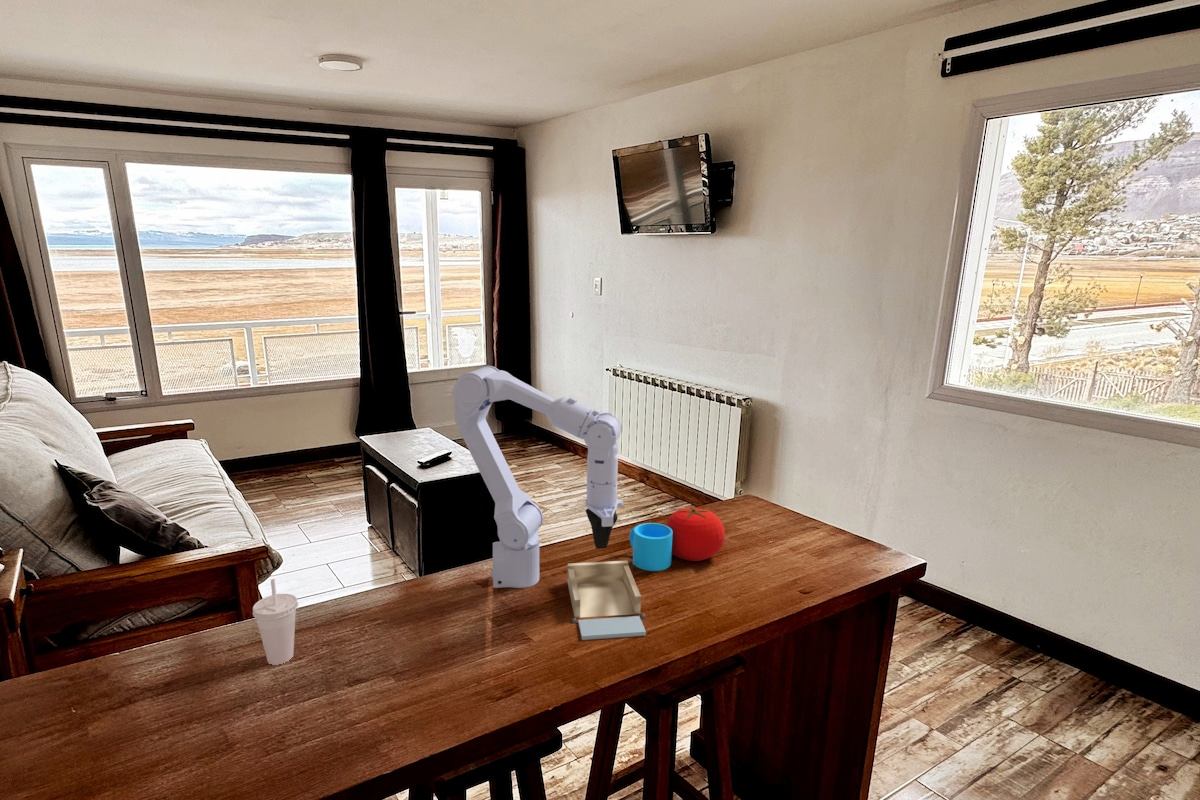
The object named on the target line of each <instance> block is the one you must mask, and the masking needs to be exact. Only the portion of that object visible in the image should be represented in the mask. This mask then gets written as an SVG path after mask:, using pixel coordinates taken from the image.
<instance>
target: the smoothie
mask: <svg viewBox="0 0 1200 800" xmlns="http://www.w3.org/2000/svg"><path fill="white" fill-rule="evenodd" d="M270 585H271V587H270V588H271V595H268V596H266V597H264V598H261V599H260V600H258V601H257V602H255V603H254V605H253V606H252V616H253V617H254V618H255V619H256V623H257V626H258V630H259V634H260V637H261V641H262V645H263V649H264V654H265V658H266V661H267V663H268V664H269V665H270V664H272V665H271V666H280V665H279V664H281V665H284V664H286V663H285V662H287V661H288V662H290V661H291V660H292V659H293V658H294V651H295V649H294V648H295V647H294V646H295V632H296V631H295V630H296V611H297V608H298V605H299V603H298V597H296V596H295V595H294V594H291V593H277V589H276V588H277V587H276V579H275V578H273V579H270ZM292 657H293V658H292ZM291 658H292V659H291ZM290 659H291V660H290ZM289 660H290V661H289ZM288 662H287V663H288ZM283 663H284V664H283Z"/></svg>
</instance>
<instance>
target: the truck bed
mask: <svg viewBox="0 0 1200 800" xmlns="http://www.w3.org/2000/svg"><path fill="white" fill-rule="evenodd" d="M566 574H567V577H566V578H567V581H566V582H567V587H568V591H569V596H570V602H571V607H572V608H571V609H572V612H573V618H571V623H572V624H577V623H578V621H577V619H584V618H585V619H586V618H598V617H600V618H601V617H612V616H614V617H615V616H630V615H639V616H640V619H641V620H642V619H643V620H644V619H646V613H641V607H642V606H641V605H642V602H641V601H642V595H641V593H640V590H639V587H638V585H637V583H636V581H635V579H634V576H633V573H632V571H631V569H630V566H629V561H628V560H613V561H611V560H610V561H609V560H608V561H595V562H594V561H593V562H575V563H573V562H572V563H567V573H566Z"/></svg>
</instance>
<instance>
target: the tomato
mask: <svg viewBox="0 0 1200 800" xmlns="http://www.w3.org/2000/svg"><path fill="white" fill-rule="evenodd" d="M665 525H666V526H668V527H669V528H671V529H672V531H673V536H672V555H674V556H676V557H678V558H679V559H682V560H684V561H690V562H699V561H705V560H706V559H710V558H711V557H713V556H714V555H716V554H717V553H718V552H719V551H720V550H721V549H722V548H723V545H724V544H725V539H726V538H725V536H726V531H725V528H724V525H723V523H722V520H721V519H720V518H719V517H718V515H716V514H715V513H714V512H712V511H711V510H709V509H704V508H697V507H693V506H692V505H690V507H684V508H680V509H677V510H675V511H674V512H673V513H671V515H670V516H669V518H668V520H667V521H666V523H665Z"/></svg>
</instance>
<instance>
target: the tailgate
mask: <svg viewBox="0 0 1200 800" xmlns="http://www.w3.org/2000/svg"><path fill="white" fill-rule="evenodd" d="M577 623H578V627H579V632H580V638H581V640H582V641H590V640H601V639H603V640H605V639H616V638H617V639H618V638H629V637H630V638H631V637H644V636H646V635H647V631H646V629H645V626H644V623H643V621H642V619H641V617H640V615H633V616H630V615H629V616H617V617H615V616H614V617H600V618H587V619H586V618H585V619H584V618H583V619H578V621H577Z"/></svg>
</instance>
